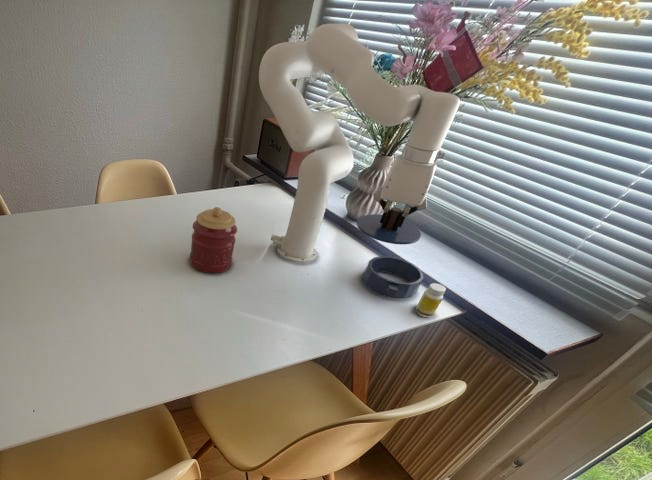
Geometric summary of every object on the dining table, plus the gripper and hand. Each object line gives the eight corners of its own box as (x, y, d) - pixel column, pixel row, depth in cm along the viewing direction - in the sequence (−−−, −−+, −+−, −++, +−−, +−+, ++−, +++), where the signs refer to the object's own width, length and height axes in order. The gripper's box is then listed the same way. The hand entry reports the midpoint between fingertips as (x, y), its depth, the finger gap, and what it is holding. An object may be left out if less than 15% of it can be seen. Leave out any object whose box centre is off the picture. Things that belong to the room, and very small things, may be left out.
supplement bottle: (434, 319, 117) (449, 293, 112) (416, 316, 118) (430, 290, 112) (430, 308, 121) (445, 283, 115) (413, 306, 121) (426, 280, 115)
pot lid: (352, 236, 111) (360, 214, 107) (359, 213, 122) (367, 192, 118) (418, 252, 107) (429, 229, 102) (420, 226, 118) (430, 204, 113)
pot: (358, 295, 123) (365, 280, 120) (365, 262, 138) (371, 247, 134) (414, 310, 120) (423, 294, 116) (415, 275, 134) (423, 260, 130)
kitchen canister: (210, 279, 125) (217, 222, 113) (180, 260, 132) (184, 204, 120) (240, 265, 132) (250, 210, 120) (210, 248, 139) (217, 194, 127)
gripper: (456, 156, 101) (421, 229, 114) (385, 143, 106) (359, 215, 118) (457, 165, 96) (421, 240, 109) (382, 152, 101) (355, 225, 113)
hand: (389, 226), depth 113 cm, fingers closed on pot lid, 2 cm apart
